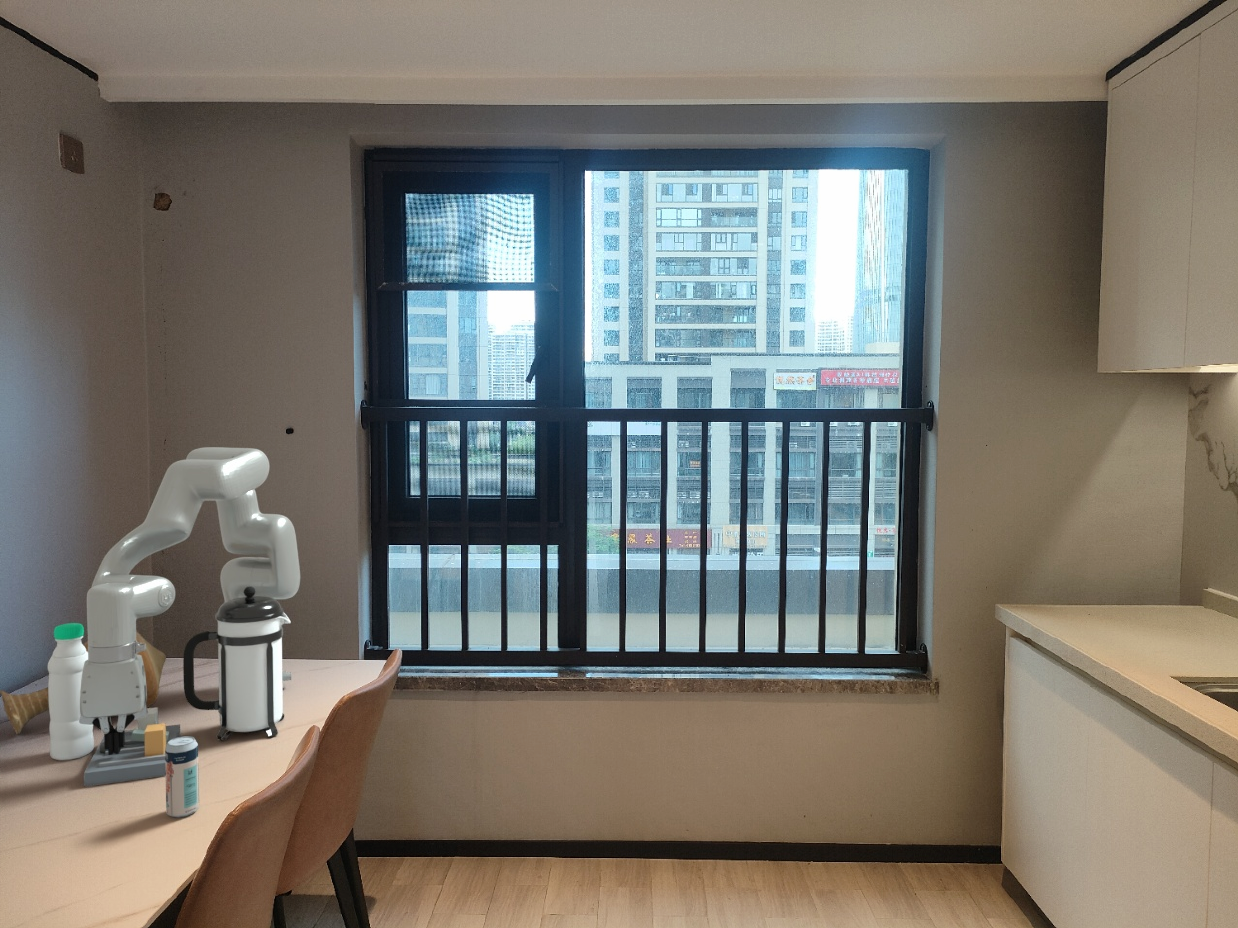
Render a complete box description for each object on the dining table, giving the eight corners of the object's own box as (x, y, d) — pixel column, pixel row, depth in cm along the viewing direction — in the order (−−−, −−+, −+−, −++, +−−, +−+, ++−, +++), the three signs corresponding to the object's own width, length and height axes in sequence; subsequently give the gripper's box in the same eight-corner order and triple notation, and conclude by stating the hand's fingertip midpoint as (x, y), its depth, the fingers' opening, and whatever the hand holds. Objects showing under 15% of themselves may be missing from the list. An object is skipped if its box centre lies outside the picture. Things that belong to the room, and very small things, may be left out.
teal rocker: (167, 738, 162) (169, 731, 162) (166, 742, 160) (167, 735, 160) (132, 736, 160) (134, 728, 160) (130, 740, 158) (132, 732, 158)
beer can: (174, 805, 141) (172, 735, 140) (203, 805, 141) (202, 734, 140) (161, 819, 136) (159, 746, 135) (191, 818, 136) (190, 746, 135)
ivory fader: (158, 731, 166) (157, 707, 166) (155, 738, 163) (155, 713, 163) (141, 733, 165) (140, 708, 165) (138, 740, 162) (137, 715, 162)
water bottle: (102, 749, 163) (99, 622, 162) (68, 763, 157) (64, 631, 155) (76, 744, 166) (72, 619, 164) (41, 758, 159) (37, 627, 157)
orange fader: (166, 748, 158) (165, 723, 158) (163, 755, 155) (163, 729, 154) (147, 750, 157) (147, 725, 156) (145, 758, 153) (144, 731, 153)
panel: (180, 735, 171) (179, 718, 170) (167, 775, 152) (167, 755, 152) (106, 744, 166) (105, 726, 166) (84, 786, 147) (83, 766, 147)
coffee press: (261, 710, 185) (259, 576, 184) (305, 727, 176) (303, 585, 174) (182, 734, 171) (179, 588, 170) (225, 753, 162) (223, 599, 160)
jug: (185, 663, 180) (17, 714, 159) (177, 716, 190) (18, 771, 169) (152, 597, 189) (-11, 637, 168) (146, 651, 199) (-8, 695, 178)
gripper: (161, 643, 158) (163, 738, 159) (68, 650, 153) (71, 749, 154) (156, 653, 151) (158, 753, 152) (59, 662, 146) (61, 765, 147)
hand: (114, 751), depth 153 cm, fingers closed
